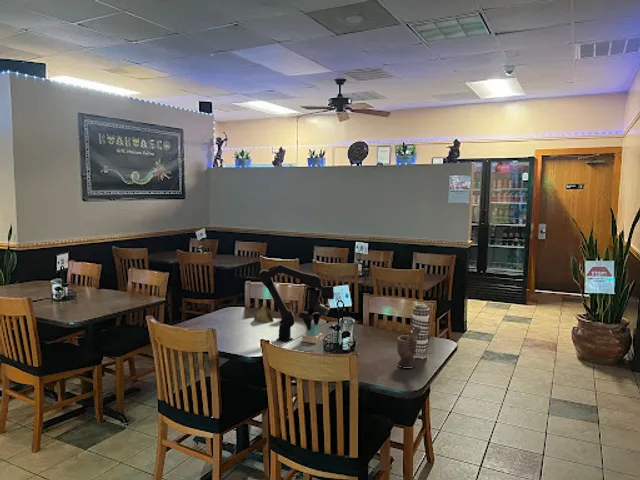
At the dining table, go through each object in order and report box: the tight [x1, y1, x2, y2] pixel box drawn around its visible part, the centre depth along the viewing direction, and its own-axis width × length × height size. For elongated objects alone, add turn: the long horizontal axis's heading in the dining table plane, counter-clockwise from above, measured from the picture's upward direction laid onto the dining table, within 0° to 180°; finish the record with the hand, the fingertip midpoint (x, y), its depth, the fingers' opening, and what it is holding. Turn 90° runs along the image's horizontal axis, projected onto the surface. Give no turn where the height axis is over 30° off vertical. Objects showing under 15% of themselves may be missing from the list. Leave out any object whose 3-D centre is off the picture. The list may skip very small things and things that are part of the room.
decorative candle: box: [410, 303, 431, 357], centre depth 229 cm, size 9×9×25 cm
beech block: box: [301, 332, 323, 344], centre depth 249 cm, size 8×8×4 cm
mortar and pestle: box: [396, 327, 421, 367], centre depth 214 cm, size 12×9×20 cm
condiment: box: [278, 300, 293, 322], centre depth 282 cm, size 7×8×12 cm
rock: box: [253, 305, 274, 323], centre depth 282 cm, size 11×9×10 cm
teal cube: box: [305, 322, 321, 337], centre depth 248 cm, size 5×5×5 cm
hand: (312, 328), depth 248 cm, fingers open, 7 cm apart
